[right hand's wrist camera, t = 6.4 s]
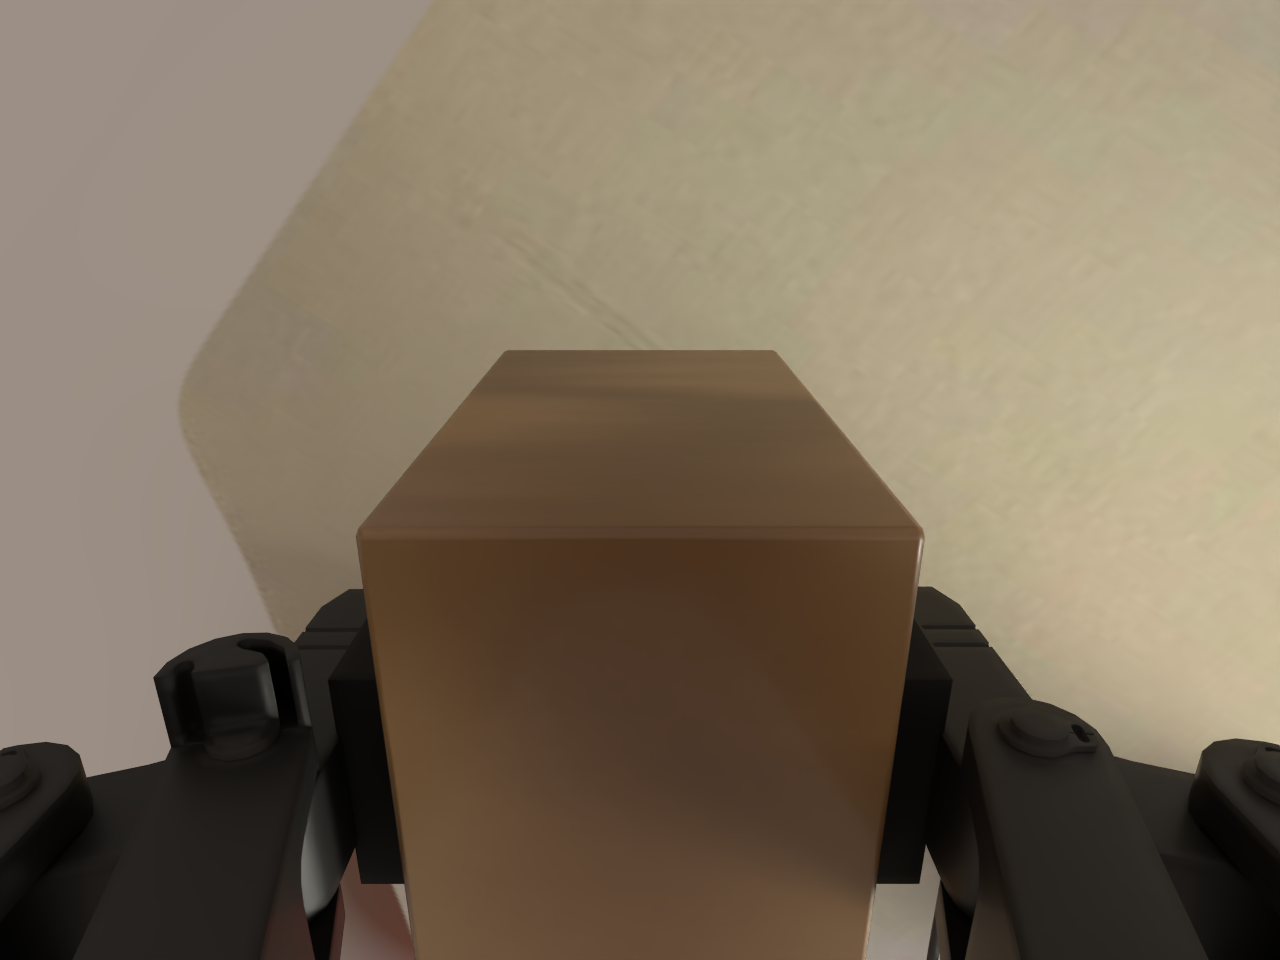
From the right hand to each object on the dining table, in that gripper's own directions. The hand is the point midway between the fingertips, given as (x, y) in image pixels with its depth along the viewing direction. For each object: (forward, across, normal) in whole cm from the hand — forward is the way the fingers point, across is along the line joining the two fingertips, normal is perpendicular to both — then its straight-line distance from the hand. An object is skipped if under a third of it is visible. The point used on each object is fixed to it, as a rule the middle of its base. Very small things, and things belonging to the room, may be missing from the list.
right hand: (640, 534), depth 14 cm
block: (+1, 0, 0) cm, 1 cm away
